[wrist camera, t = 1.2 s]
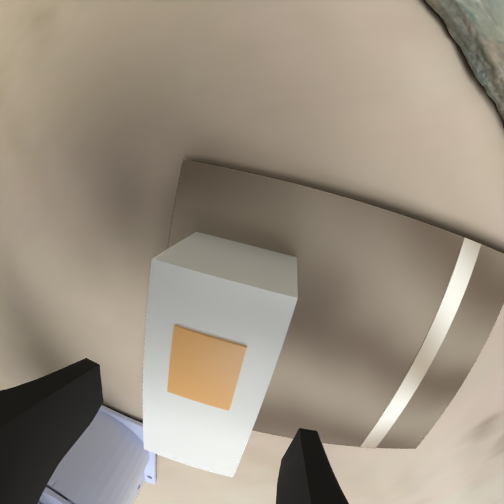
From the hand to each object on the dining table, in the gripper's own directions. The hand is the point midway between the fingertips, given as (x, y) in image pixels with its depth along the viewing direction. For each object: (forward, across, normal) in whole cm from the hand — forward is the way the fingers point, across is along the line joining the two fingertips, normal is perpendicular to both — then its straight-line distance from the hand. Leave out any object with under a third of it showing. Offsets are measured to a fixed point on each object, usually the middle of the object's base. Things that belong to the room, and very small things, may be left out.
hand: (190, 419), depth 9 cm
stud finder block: (+6, 0, 0) cm, 6 cm away
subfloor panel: (+7, -6, -1) cm, 9 cm away
